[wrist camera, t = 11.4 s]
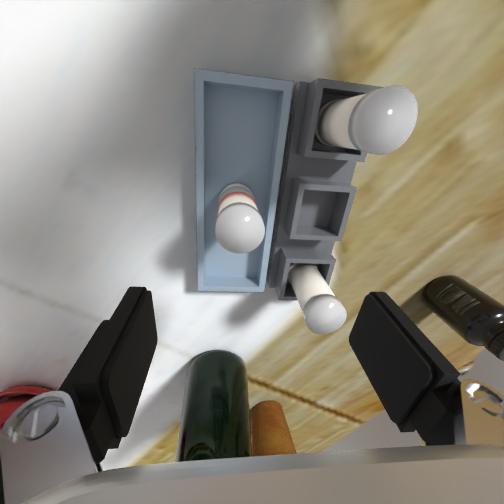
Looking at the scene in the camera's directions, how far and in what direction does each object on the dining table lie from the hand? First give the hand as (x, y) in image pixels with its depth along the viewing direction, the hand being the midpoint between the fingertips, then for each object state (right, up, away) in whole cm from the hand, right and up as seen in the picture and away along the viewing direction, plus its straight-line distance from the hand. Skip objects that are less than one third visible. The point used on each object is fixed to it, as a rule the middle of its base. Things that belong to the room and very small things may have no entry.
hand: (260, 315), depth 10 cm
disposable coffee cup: (+3, -31, +41) cm, 52 cm away
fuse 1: (+6, 0, +23) cm, 24 cm away
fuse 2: (+8, +16, +15) cm, 24 cm away
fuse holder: (+7, +9, +20) cm, 23 cm away
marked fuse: (-2, +9, +18) cm, 21 cm away
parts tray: (-2, +9, +19) cm, 21 cm away
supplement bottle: (+32, -4, +30) cm, 44 cm away
